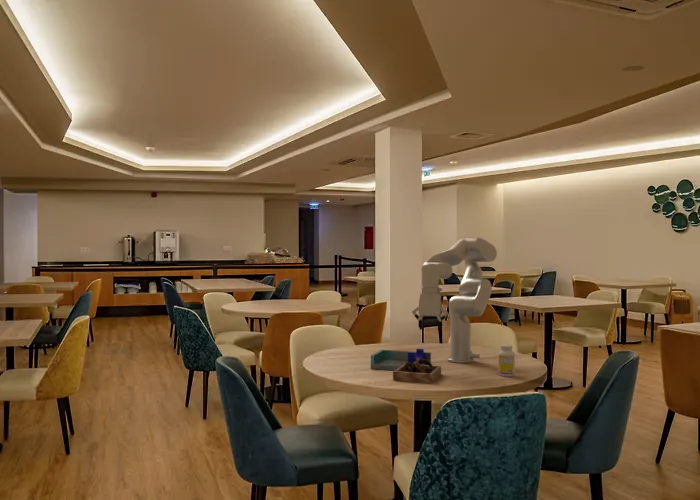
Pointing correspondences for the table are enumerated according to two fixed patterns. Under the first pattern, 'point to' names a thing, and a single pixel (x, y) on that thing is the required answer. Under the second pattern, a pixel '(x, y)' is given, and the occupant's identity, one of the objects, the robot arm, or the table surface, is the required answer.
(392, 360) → the grey teal tray
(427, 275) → the robot arm
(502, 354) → the supplement bottle
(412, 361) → the blue arch block
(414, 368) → the brown looped piece
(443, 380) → the table surface
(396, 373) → the wooden tray
